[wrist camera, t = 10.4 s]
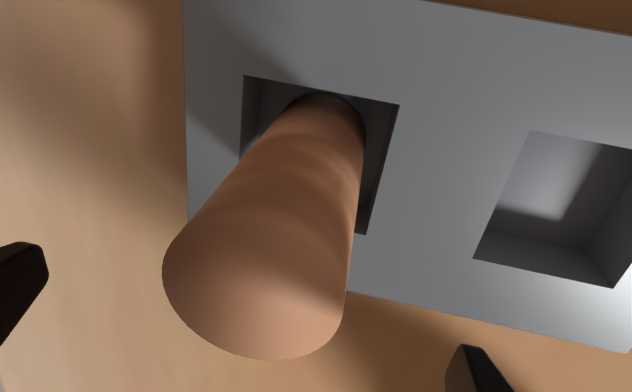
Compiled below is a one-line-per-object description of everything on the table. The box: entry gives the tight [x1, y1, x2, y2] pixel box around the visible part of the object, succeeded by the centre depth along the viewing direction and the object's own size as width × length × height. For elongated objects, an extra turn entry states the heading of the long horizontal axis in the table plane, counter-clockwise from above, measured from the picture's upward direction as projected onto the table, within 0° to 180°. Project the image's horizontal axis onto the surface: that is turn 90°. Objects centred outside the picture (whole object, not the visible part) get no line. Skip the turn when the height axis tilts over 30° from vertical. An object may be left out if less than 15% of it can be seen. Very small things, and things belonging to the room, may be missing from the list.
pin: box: [162, 92, 366, 361], centre depth 13 cm, size 4×4×10 cm
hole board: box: [182, 0, 632, 354], centre depth 16 cm, size 12×20×4 cm, turn 82°
